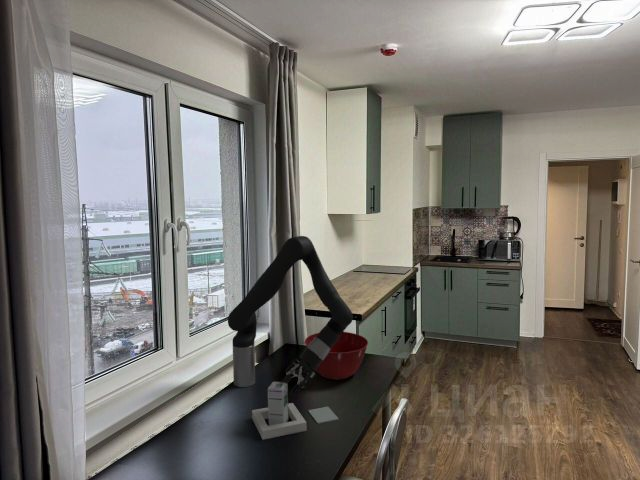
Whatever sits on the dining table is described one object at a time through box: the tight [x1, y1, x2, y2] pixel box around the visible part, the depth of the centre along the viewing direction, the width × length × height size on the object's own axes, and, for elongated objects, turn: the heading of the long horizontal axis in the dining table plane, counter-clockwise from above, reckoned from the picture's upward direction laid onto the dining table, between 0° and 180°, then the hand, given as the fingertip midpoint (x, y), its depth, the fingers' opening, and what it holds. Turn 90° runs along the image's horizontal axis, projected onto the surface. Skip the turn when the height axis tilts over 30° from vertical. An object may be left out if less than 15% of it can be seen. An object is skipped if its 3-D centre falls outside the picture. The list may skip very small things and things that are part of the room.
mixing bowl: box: [304, 331, 369, 381], centre depth 203 cm, size 28×28×15 cm
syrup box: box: [267, 381, 290, 426], centre depth 159 cm, size 6×6×14 cm
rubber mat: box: [307, 406, 340, 425], centre depth 166 cm, size 10×8×1 cm
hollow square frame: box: [251, 402, 308, 441], centre depth 160 cm, size 16×16×3 cm
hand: (287, 390), depth 160 cm, fingers open, 8 cm apart
